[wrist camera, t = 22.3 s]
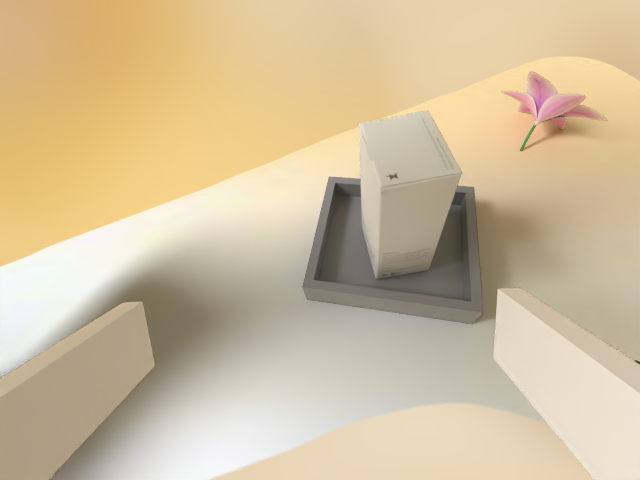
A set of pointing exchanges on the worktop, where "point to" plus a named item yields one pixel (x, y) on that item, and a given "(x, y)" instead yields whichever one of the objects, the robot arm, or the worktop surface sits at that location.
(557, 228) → the worktop surface
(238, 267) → the worktop surface
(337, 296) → the tray
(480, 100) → the worktop surface
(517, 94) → the lily
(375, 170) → the skincare box
